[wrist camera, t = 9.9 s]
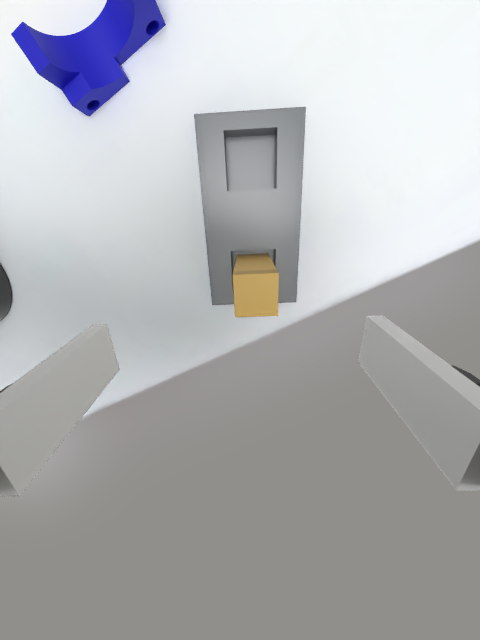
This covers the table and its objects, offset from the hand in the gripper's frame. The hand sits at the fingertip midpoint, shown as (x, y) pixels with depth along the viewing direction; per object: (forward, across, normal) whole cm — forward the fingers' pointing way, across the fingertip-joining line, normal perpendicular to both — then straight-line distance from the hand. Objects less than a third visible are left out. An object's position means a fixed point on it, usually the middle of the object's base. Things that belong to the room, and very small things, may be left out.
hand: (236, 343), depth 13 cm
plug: (+22, +2, -1) cm, 22 cm away
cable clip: (+24, -12, +22) cm, 34 cm away
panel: (+23, +2, +5) cm, 24 cm away
